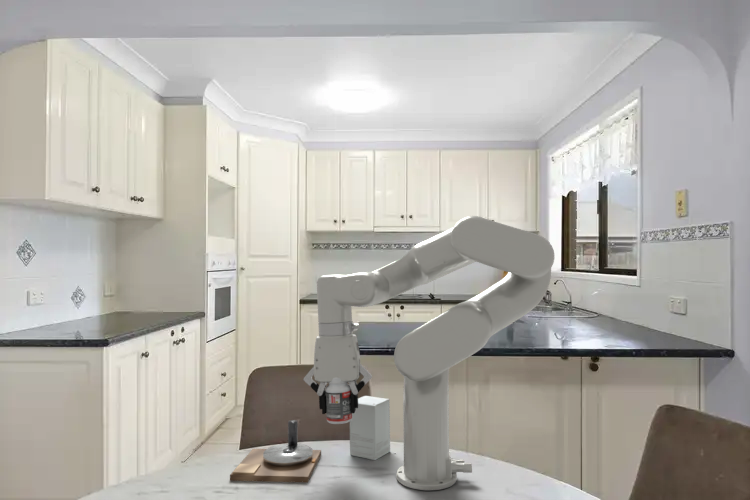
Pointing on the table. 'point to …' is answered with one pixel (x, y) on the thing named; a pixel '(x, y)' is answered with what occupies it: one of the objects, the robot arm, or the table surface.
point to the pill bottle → (338, 402)
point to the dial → (288, 449)
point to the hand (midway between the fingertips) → (339, 411)
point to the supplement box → (370, 428)
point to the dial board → (273, 469)
